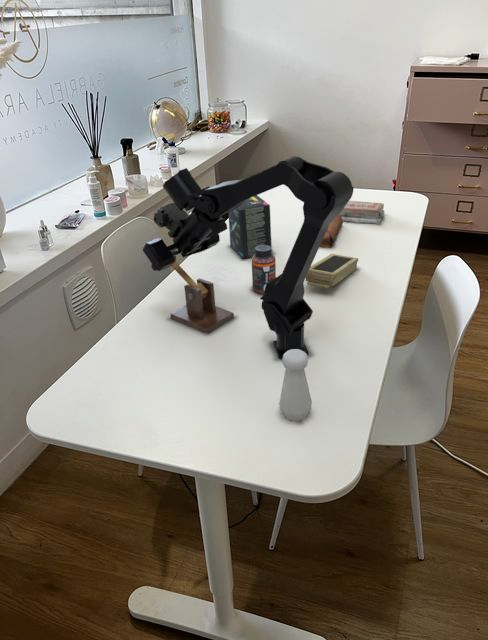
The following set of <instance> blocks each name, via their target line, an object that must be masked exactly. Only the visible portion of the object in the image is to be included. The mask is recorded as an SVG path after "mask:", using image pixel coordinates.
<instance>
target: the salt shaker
mask: <svg viewBox="0 0 488 640" xmlns="http://www.w3.org/2000/svg"><path fill="white" fill-rule="evenodd" d="M308 356H309V355H307V354H306V353H305V352H304V351H302V350H299V349H291V350H288V351H287V352H286V353H284V355H283V358H282V366H283V367H284V368H285V371H284V376H283V381H282V387H281V392H280V398H279V402H278V405H279V408H280V410H281V411H282V414H283V415H284V416H285V418H287V420H288V421H295V422H296V421H297V422H300V421H301V420H304V418H306V417H307V416H308V414H309V413H310V411H311V409H312V405H313V401H312V396H311V392H310V388H309V383H308V380H307V376H306V370H305V369H306V368H307V366H308V363H309V357H308Z"/></svg>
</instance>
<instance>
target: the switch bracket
mask: <svg viewBox="0 0 488 640" xmlns="http://www.w3.org/2000/svg"><path fill="white" fill-rule="evenodd" d="M198 283H201V284H202V285H203V286H204V287H205V288H206V289H207V290H208V293H207V295H206V297H205V298H203V299H202V294H201V289H198V288H195V287H193V286H190V285H189V284H185V285H183V287H184V295H185V305H183V306H181V307H179V308H177V309H176V310H174V311H172V312H170V313H169V315H170V319H171V320H174V321H176V322H178V323H180V324H183V325H185V326H188V327H189V328H192V329H194V330H196V331H199V332H201V333H204V334H206V335H208V334H210V333H212V332H214V331H215V330H217V329H219V328H220V327H222V326H223V325H225V324H227V323H228V322H230V321H232V320H233V319H235V313H234V312H233V311H230V310H227V309H226V308H225V309H224V308H222V307H220V306H217V305H216V298H215V296H216V295H215V285H214V282H211V281H208V280H206V279H204V278H197V279H196V284H198Z"/></svg>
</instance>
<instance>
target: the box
mask: <svg viewBox="0 0 488 640" xmlns="http://www.w3.org/2000/svg"><path fill="white" fill-rule="evenodd" d="M358 262H359V258H358V257H353V256H349V255H348V256H347V255H343V254H336V253H330V254H329V255H327V256H325V257H323V258H322V259H321V260H319V261H317V262H316V263H314V264H311V267H310V269H309V271H308V273H307V275H306V278H305V282H307V285H309V286H313V287H314V286H315V287H319V288H320V287H321V288H325V289H331V287H334V286H335V285H336V284H339V282H341V281H342V280H344V279H345V278H346V277H348V276H349V275H350V274H352V273H353V272H354V271H356V270H357V268H358V267H357V266H358Z"/></svg>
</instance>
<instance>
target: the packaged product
mask: <svg viewBox="0 0 488 640" xmlns="http://www.w3.org/2000/svg"><path fill="white" fill-rule="evenodd" d="M384 206H385V205H384V203H381V202H371V201H359V200H358V201H357V200H349V201H348V203H347V204H346V206H345V207H344V208H343V210H342V211H341V212H340V213H339V215H340V216H341V217H342V219H343V222H352V223H353V222H354V223H357V224H359V223H360V224H361V223H365V224H375V225H376V224H381V222H382V220H383V217H384V215H385V210H384V208H385V207H384Z"/></svg>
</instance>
